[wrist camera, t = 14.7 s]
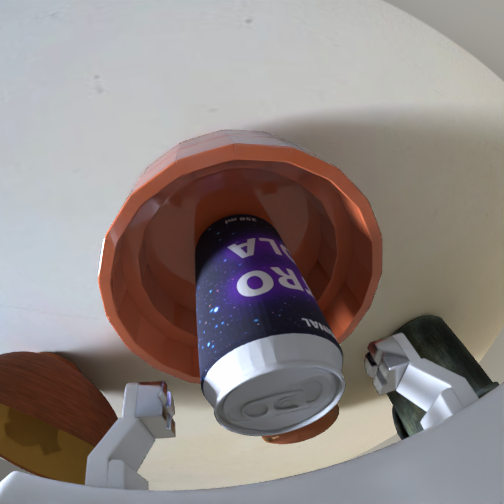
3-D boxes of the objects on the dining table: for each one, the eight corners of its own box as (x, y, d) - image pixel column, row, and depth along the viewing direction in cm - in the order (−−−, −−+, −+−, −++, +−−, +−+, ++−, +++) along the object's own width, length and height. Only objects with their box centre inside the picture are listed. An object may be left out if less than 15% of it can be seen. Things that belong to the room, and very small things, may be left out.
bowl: (94, 293, 21) (59, 403, 12) (160, 414, 30) (162, 493, 21) (-38, 311, 19) (-79, 382, 10) (41, 414, 28) (27, 477, 19)
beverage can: (286, 270, 22) (352, 414, 11) (209, 293, 22) (229, 450, 11) (270, 197, 19) (357, 333, 9) (182, 223, 19) (176, 385, 8)
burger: (341, 396, 34) (354, 425, 29) (277, 427, 35) (285, 456, 31) (311, 362, 29) (326, 398, 25) (235, 400, 30) (241, 436, 26)
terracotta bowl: (217, 78, 15) (226, 69, 10) (376, 223, 22) (421, 264, 17) (86, 267, 20) (60, 322, 14) (248, 351, 26) (260, 406, 21)
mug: (457, 304, 30) (515, 372, 19) (409, 383, 36) (446, 446, 26) (391, 313, 27) (456, 405, 17) (346, 399, 34) (380, 476, 24)
